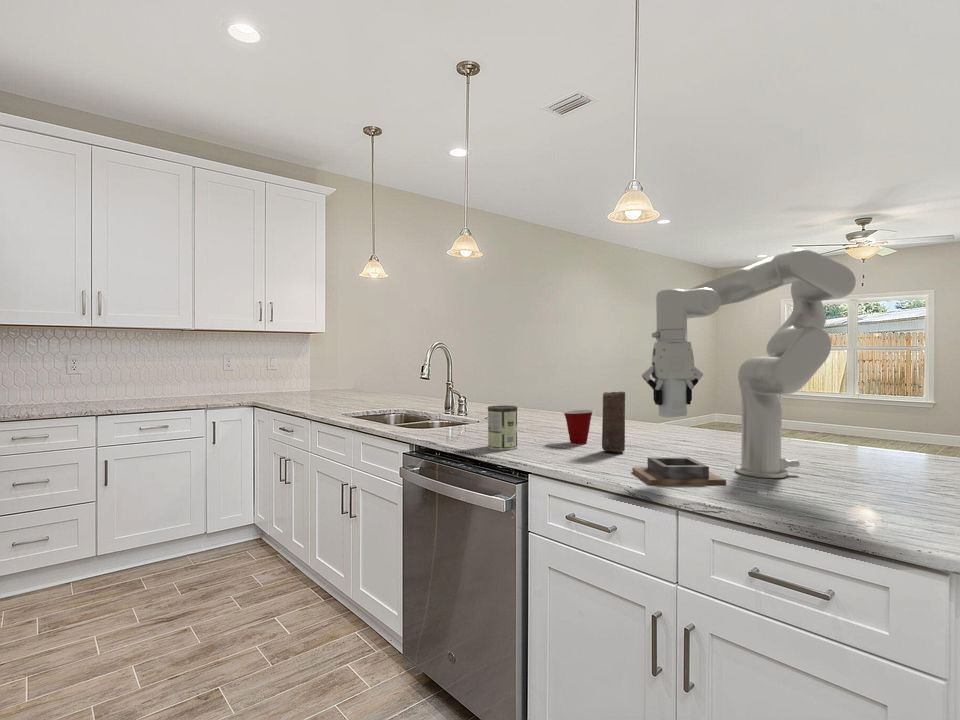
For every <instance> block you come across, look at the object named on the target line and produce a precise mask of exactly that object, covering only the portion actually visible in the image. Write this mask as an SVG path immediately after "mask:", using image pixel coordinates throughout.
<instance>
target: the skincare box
mask: <svg viewBox="0 0 960 720" xmlns="http://www.w3.org/2000/svg"><path fill="white" fill-rule="evenodd" d="M660 390H662V405H658V416H659V417H661V418H662V417H663V418H677V417H686V416H687V415H688V414H687V413H688V410H687V409H688V408H687V407H688V406H687V405H688V404H687V395H686V381H685V380H674V379H672V372H669V379H668V380H664V381H663V383H662V385H661V387H660Z"/></svg>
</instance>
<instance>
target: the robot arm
mask: <svg viewBox="0 0 960 720" xmlns="http://www.w3.org/2000/svg"><path fill="white" fill-rule="evenodd" d="M789 284H791V286H790V295H791V298H792V304H793V308H792V312H791V314H790V315H789V316H788V318H787V319H786V320H785V322H784V323H782V325H781V326H780V327H779V328H778V330H777V331H775V332H774V334H773V335H772V336H771V338H769V340H768V342H767V344H766V353H767V354H768V356H755V357H750V358H748V359H747V360H745V361H743V363H741V365H740V366H739V369H738V385H739V390H740V396H741V445H740V447H741V449H740V451H741V458H740V459H741V461H740V463H741V464H737V465H736V466H735V467H734V471H735V472H736V473H738V474H741V475H743V476H749V477H754V478H763V479H764V478H765V479H780V478H781V479H782V478H786V477H788V475H789V474H788V473H789V472H788V470H787V469H789V468H800V461H799V460H798V459H787V458H785V457H782V417H783V411H782V410H783V408H782V403H781V400H780V397H779V395H791V394H795V393H797V392H798V391H800V390H801V389H802V388H804V386H806V384H807V383H808V382H809V381H810V380H811V378H812V377H813V376H814V375H815V374H816V373H817V371H818V370H819V369H820V368H821V367H822V365H823V364H825V362H826V360H827V359H828V358H829V355H830V353H831V349H832V341H831V338H830V335H829V334H828V333H827V331H825V330H824V327H825V325H826V321H827V320H826V319H827V317H826V314H825V309H824V306H823V302H822V301H828V300H829V301H830V300H838V299H842V298H846V297H847V296H849V295H851V293H853V291H854V290H855V288H856V284H857V280H856V276H855V274H854V272H853V271H852V270H851V269H850V268H849V267H847V266H846V265H844V264H842V263H841V262H838V261H836V260H834V259H832V258H829V257H827V256H825V255H823V254H820V253H818V252H815V251H812V250H810V249H806V248H805V249H804V248H796V249H793V250H788V251H785V252H782V253H778V254H775V255H772V256H770V257H769V256H768V257H767V258H764V259H761V260H760V261H756V262H754V263H752V264H749V265H747V266H744V267H741V268H739V269H736V270H734V271H731V272H728V273H725V274H724V275H721V276H719V277H717V278H714V279H711V280H709V281H706V282H703V283H701V284H698V285H696V286H693V287H691V288H688V289H681V288H669V289H662V290H660V291H658V292H657V293H656V297H655V299H656V300H655V301H656V302H655V303H656V304H655V306H656V316H655V317H656V330H655V332H652V333H651V338H653V339H654V338H655V341H656V342H654V344H653V349H652V355H651V366H650V367H648V368H647V369H646V370H645V371H644V372H643V373H642V374H641V377H642V378H643V380H644V381H645V382H646V384H648V385H649V387H651V389H652V390H653V392H652V393H653V395H652V396H653V402H654V405H657V406H659V405H662V390H660V387H661V385H662V383H663V381H664V380H668V379H669V372H672V379H674V380H685V381H686V395H687V405H691V404H692V400H693V390H694V387H695V386H696V385H697V384H698V383H699V381H700V380H701V379H702V378H703V377H704V373H703V372H702V371H700V369H698V368H697V367H696V365H695V358H694V357H695V356H694V350H693V345H692V342H691V341H688V319H696V318H704V317H709V316H712V315H714V314H715V313H716V312H717V311H718V310H719V309H720V307H722V306H725V305H731V304H735V303H736V304H737V303H742V302H744V301H748V300H751V299H754V298H755V297H758V296H761V295H762V294H765V293H767V292H770V291H772V290H775V289H778V288H780V287H783V286H786V285H789ZM652 378H653V379H654V380H653V379H652Z"/></svg>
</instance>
